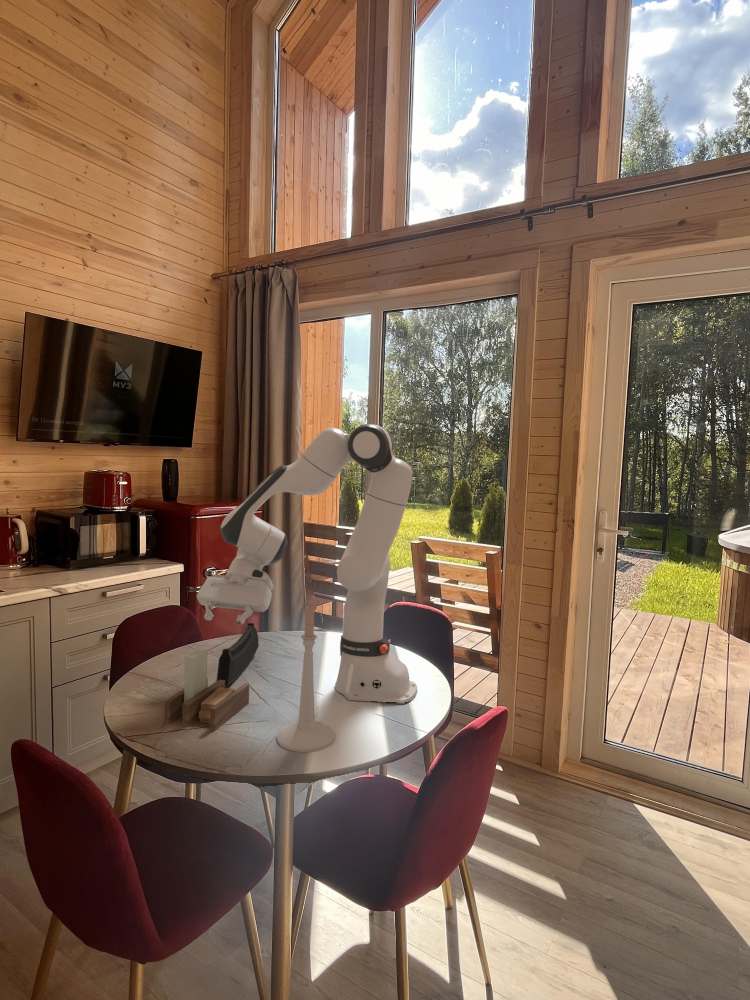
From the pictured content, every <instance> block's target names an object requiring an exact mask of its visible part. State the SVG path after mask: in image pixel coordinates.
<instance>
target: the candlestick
mask: <svg viewBox="0 0 750 1000" xmlns="http://www.w3.org/2000/svg"><path fill="white" fill-rule="evenodd" d="M314 628H315V606H314V605H306V606H305V609H304V634H302V635H300V638H301V639H302V645H303V646H304V652H303V663H302V674H301V687H300V698H299V709H298V720H297V721H294V722H291V723H288V724H286V725H285V726H283V727H281V728H280V730H278V732H277V734H276V742H277V744H278V745H280V746H281V747H282V748H284V749H285V750H288V751H291V752H292V751H293V752H298V753H309V752H317V751H321V750H324V749H326V748H329V747H330V746H332V744H333V743H334V742H335V740H336V733H335V731H334V730H333V728H331V727H330V726H329V725H328V724H325V723H322V722H320V721H316V720H315V696H314V695H315V690H314V689H315V683H314V680H315V679H314V652H313V649H314V646H315V644H316V642H315V640H316V639H317V638H318V636H317V634H315V633H314V631H315V629H314Z"/></svg>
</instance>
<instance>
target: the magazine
mask: <svg viewBox="0 0 750 1000" xmlns="http://www.w3.org/2000/svg"><path fill="white" fill-rule="evenodd" d="M259 645H260V644H259V635H258V630H257V629H256V627H255V623H254V622H248V623H247V627H246V628H245V629H244V631H243V633H242V634H241V635H240V637H239V638H238V639H237V641H236V642H234V643H233V644H232V645H230V646H229V647H228V648H224V649H222V652H221V655H220V656H219V658H218V666H217V674H216V675H217V676H216V682H217V681H218V680H225V688H228V687H229V685H231V684H232V683H233V682H235V681H236V680H237V679H238V678H239V677H241V676H242V674H243V673H244V672H245V671H246V669H247V668H248V667H249V665H250V664H251V662H252V660H253V658H254V656H255V654H256V652H257V650H258V649H259Z"/></svg>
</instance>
